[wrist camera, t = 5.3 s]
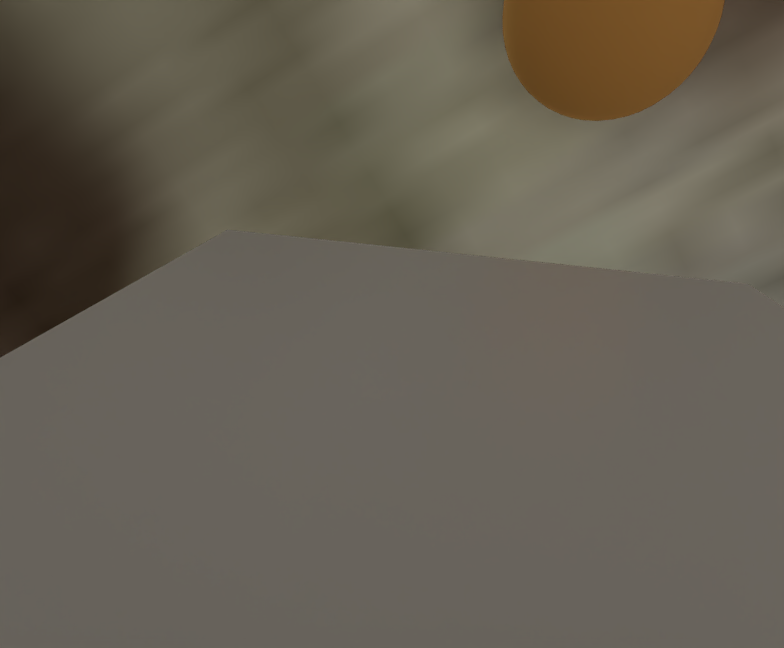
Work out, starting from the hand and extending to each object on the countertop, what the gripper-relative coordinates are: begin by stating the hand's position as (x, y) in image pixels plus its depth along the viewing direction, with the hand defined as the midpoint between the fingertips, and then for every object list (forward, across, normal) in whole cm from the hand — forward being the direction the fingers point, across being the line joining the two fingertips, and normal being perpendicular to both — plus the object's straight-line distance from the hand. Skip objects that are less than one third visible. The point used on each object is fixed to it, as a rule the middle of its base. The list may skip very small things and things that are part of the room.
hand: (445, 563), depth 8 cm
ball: (+10, -3, -8) cm, 13 cm away
